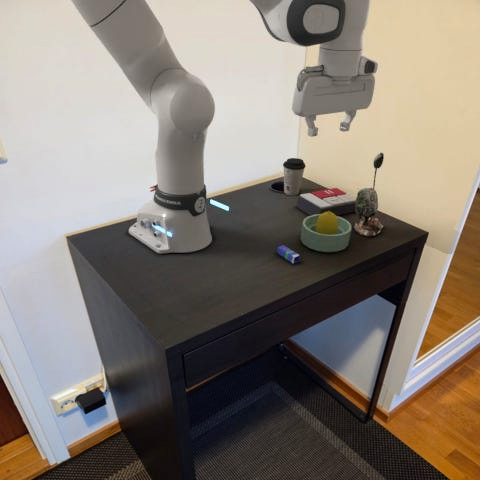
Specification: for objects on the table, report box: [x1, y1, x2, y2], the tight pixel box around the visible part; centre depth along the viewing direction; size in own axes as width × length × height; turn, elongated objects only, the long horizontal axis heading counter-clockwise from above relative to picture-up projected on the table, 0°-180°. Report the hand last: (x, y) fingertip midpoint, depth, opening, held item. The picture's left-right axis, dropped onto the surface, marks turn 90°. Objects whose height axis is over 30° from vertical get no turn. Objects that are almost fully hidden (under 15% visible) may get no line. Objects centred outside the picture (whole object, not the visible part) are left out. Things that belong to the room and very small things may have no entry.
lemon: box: [316, 211, 338, 235], centre depth 112 cm, size 6×6×8 cm
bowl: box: [300, 214, 353, 253], centre depth 114 cm, size 12×12×5 cm
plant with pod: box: [353, 152, 385, 237], centre depth 115 cm, size 8×11×20 cm
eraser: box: [277, 244, 301, 265], centre depth 108 cm, size 2×6×2 cm, turn 36°
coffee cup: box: [282, 157, 306, 196], centre depth 138 cm, size 7×7×10 cm
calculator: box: [296, 187, 357, 216], centre depth 130 cm, size 11×4×15 cm
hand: (328, 133), depth 101 cm, fingers open, 8 cm apart
